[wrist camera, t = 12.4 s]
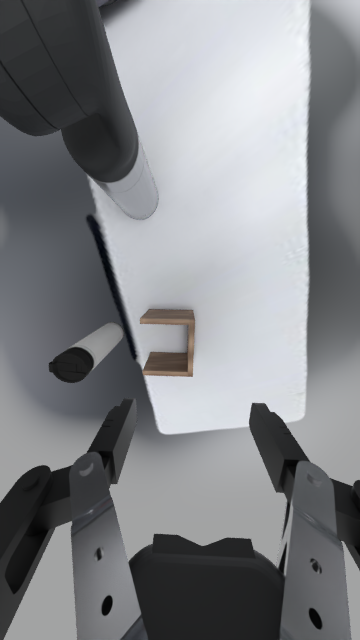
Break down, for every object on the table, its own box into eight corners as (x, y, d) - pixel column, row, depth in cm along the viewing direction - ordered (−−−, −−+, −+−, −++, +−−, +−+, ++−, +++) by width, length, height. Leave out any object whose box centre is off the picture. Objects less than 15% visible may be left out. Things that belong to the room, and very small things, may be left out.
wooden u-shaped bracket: (149, 309, 47) (139, 318, 37) (192, 310, 46) (194, 319, 37) (150, 355, 51) (142, 375, 41) (191, 356, 50) (192, 376, 41)
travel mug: (101, 320, 48) (46, 351, 29) (124, 323, 48) (84, 357, 29) (101, 340, 50) (49, 382, 30) (123, 343, 50) (85, 387, 31)
